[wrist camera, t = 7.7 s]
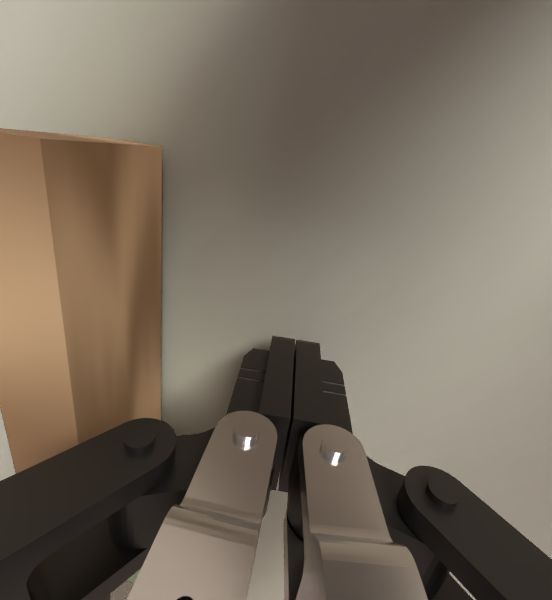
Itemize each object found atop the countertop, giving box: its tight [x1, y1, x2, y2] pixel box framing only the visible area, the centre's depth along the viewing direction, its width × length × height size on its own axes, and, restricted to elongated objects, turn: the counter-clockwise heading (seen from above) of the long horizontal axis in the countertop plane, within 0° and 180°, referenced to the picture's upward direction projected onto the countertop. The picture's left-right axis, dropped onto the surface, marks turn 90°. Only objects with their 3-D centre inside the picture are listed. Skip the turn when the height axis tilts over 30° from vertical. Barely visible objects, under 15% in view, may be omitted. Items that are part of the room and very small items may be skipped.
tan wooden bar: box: [0, 128, 162, 600], centre depth 10 cm, size 15×6×5 cm, turn 172°
